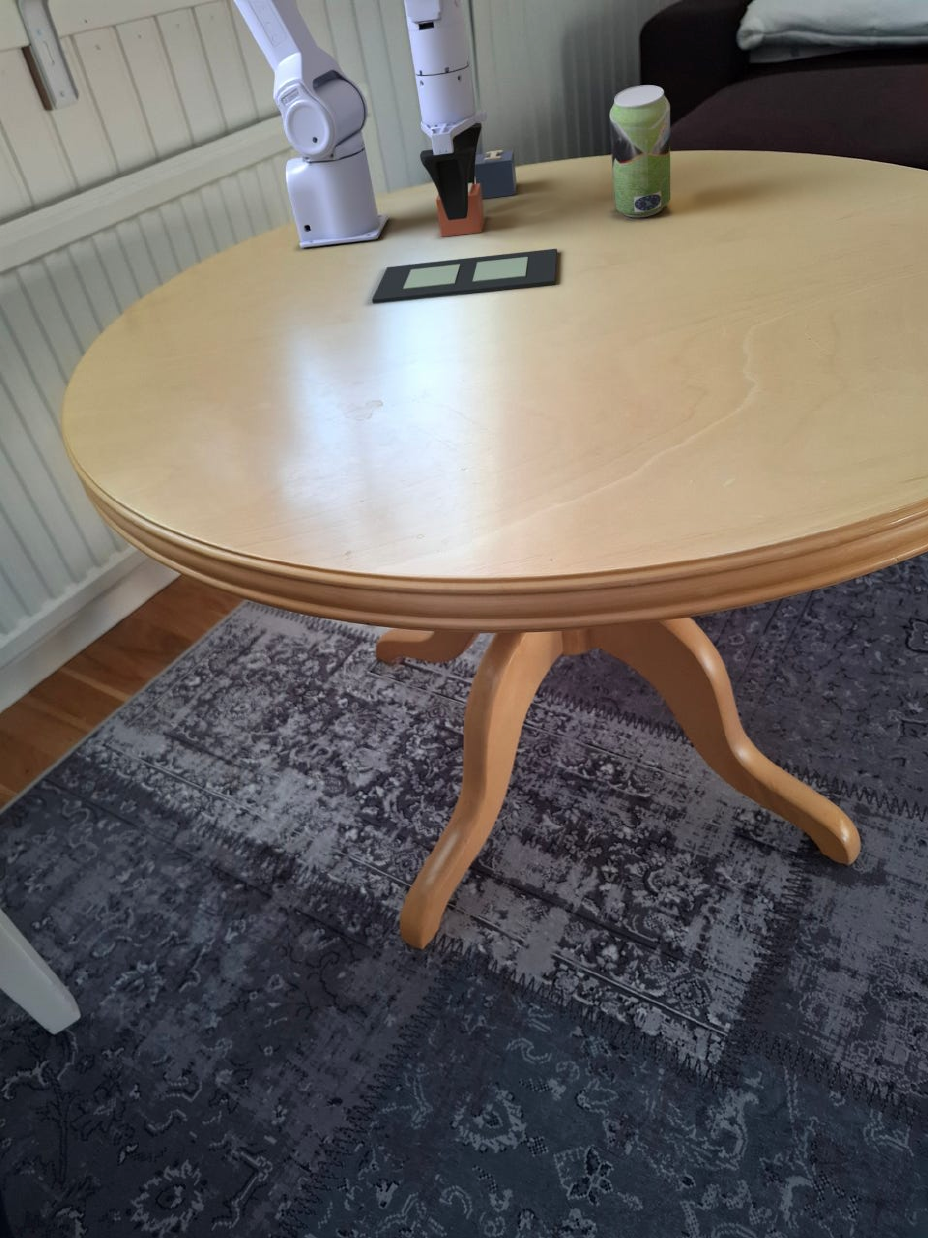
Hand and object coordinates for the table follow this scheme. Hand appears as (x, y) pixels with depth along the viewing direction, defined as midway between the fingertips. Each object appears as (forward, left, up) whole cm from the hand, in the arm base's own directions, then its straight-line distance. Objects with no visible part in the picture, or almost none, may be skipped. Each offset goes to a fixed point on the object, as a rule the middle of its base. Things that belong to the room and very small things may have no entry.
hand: (461, 207), depth 100 cm
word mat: (+2, -16, -2) cm, 16 cm away
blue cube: (+3, +13, -2) cm, 14 cm away
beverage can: (+20, -2, -2) cm, 20 cm away
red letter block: (0, 0, -2) cm, 2 cm away
